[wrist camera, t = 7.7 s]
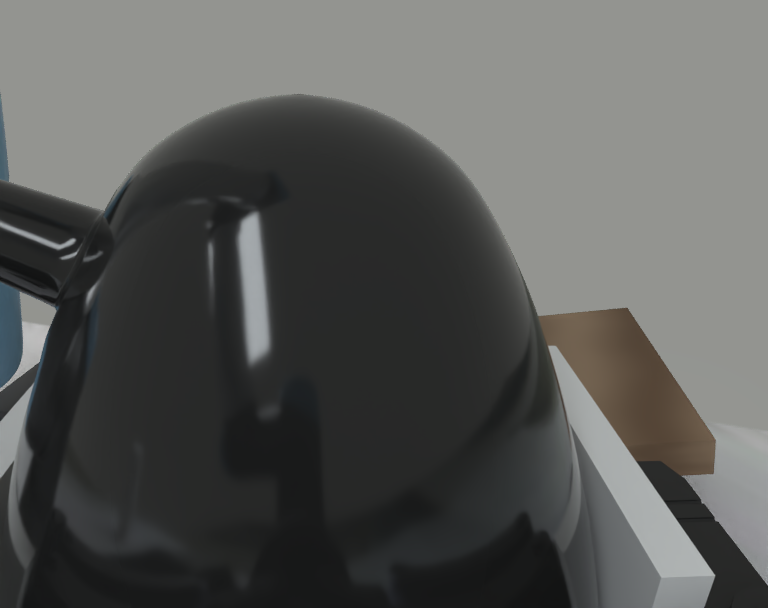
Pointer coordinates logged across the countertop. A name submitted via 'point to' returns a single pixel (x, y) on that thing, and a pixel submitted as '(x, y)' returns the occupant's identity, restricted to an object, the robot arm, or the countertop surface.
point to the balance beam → (600, 388)
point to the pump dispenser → (287, 383)
